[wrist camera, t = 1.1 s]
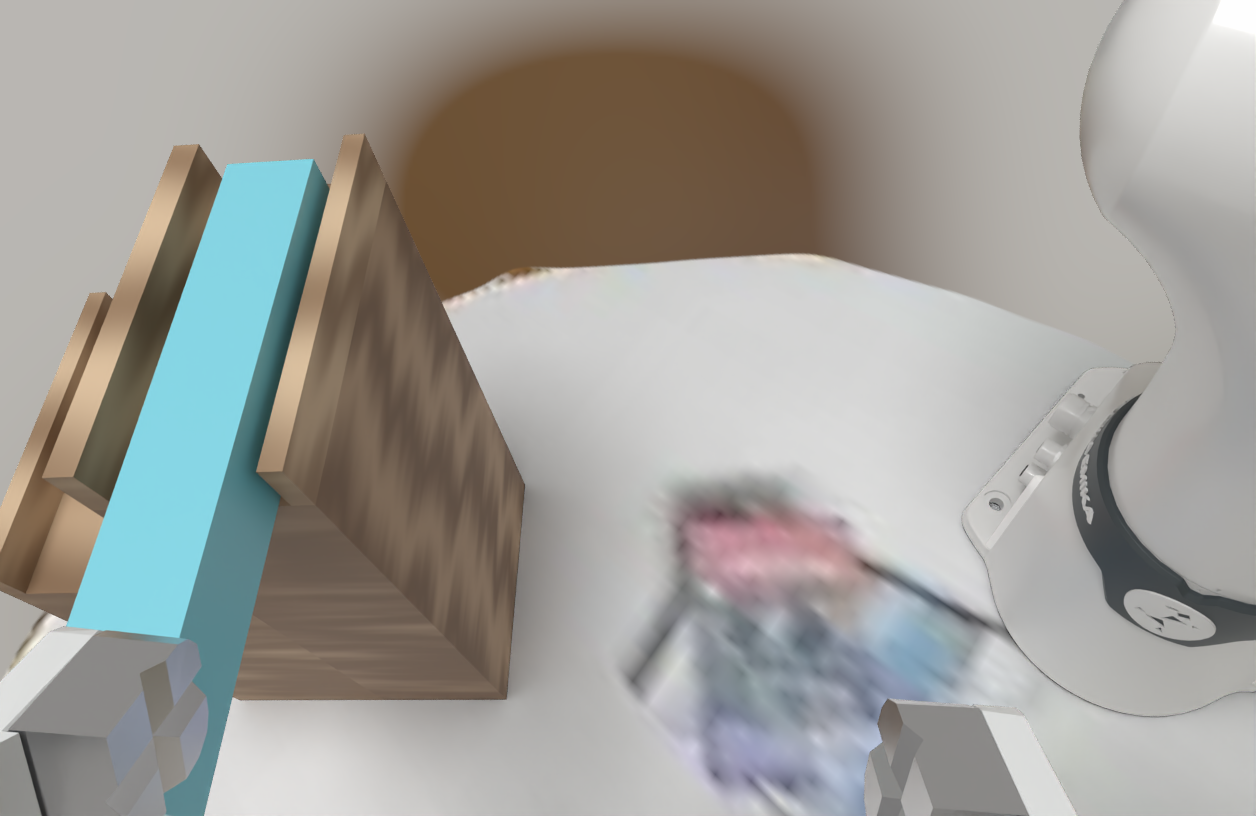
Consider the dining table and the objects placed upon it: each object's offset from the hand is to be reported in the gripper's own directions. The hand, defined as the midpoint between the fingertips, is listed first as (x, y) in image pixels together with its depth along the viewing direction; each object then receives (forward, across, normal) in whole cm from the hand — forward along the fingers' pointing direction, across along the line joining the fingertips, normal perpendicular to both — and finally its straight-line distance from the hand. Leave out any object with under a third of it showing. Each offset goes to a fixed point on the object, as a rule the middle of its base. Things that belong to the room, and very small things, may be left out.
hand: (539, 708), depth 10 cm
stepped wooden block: (+38, +12, +27) cm, 48 cm away
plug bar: (+17, +12, +7) cm, 21 cm away
